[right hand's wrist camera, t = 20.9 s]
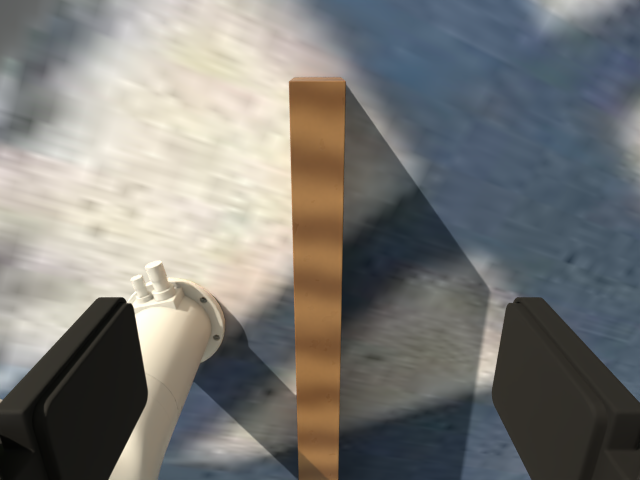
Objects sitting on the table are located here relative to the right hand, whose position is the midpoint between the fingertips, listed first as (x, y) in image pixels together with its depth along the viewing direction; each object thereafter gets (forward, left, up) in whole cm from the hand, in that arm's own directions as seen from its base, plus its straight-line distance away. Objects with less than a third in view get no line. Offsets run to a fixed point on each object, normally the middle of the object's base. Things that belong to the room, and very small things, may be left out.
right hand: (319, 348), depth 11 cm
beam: (+34, -7, -41) cm, 53 cm away
